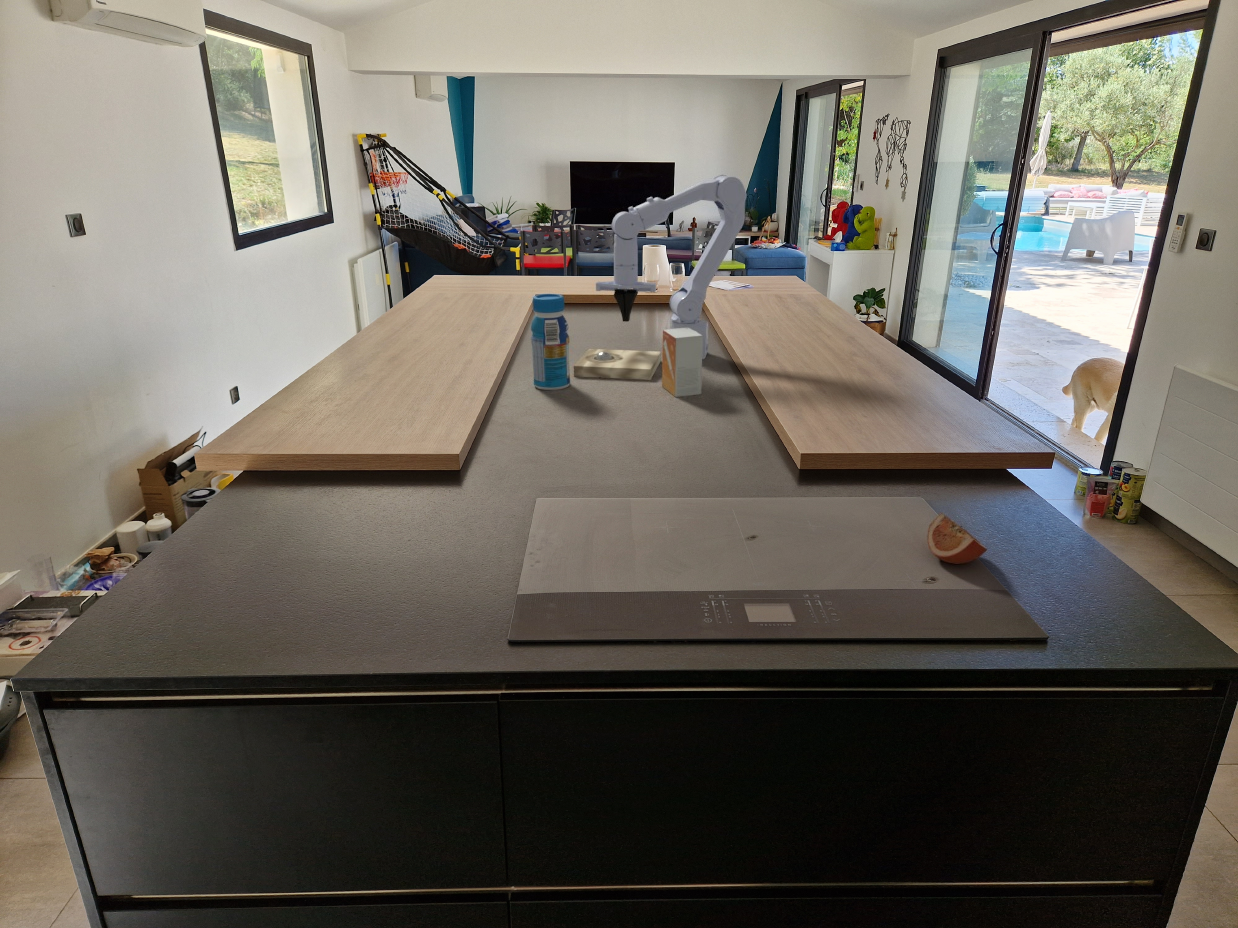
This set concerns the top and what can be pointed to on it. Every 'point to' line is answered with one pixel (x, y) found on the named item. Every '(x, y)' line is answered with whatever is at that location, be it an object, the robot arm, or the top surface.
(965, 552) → the fruit slice
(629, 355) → the hole plate
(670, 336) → the small box
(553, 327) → the beverage bottle
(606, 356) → the steel ball
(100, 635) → the top surface
